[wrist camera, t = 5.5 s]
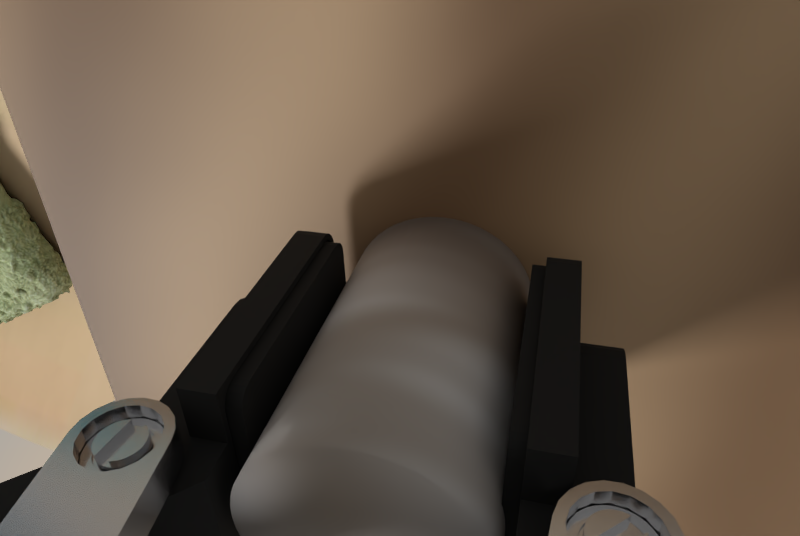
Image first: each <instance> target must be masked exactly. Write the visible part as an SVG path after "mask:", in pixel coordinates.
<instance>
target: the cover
mask: <svg viewBox="0 0 800 536" xmlns="http://www.w3.org/2000/svg"><path fill="white" fill-rule="evenodd" d="M0 89H1V91H2V94H3V97H4V100H5V102H6V105H7V108H8V110H9V113H10V116H11V118H12V121H13V124H14V127H15V129H16V132H17V135H18V137H19V140H20V143H21V146H22V148H23V151H24V154H25V156H26V159H27V162H28V164H29V167H30V170H31V173H32V175H33V178H34V181H35V183H36V186H37V189H38V191H39V194H40V197H41V200H42V202H43V205H44V208H45V210H46V213H47V216H48V219H49V221H50V224H51V227H52V229H53V232H54V235H55V237H56V240H57V243H58V246H59V248H60V251H61V254H62V256H63V259H64V262H65V265H66V267H67V270H68V273H69V275H70V278H71V281H72V283H73V286H74V289H75V292H76V294H77V297H78V300H79V302H80V305H81V308H82V311H83V313H84V316H85V319H86V321H87V324H88V327H89V329H90V332H91V335H92V338H93V340H94V343H95V346H96V348H97V351H98V354H99V356H100V359H101V362H102V365H103V367H104V370H105V373H106V375H107V378H108V381H109V384H110V386H111V389H112V392H113V394H114V397H115V400H116V401H119V400H123V399H127V398H149V399H154V400H158V401H160V399H161V398H162V397H163V395H164V394H165V393H166V392H167V390H168V389H169V388H170V386H171V385H172V384H173V383H174V381H175V380H176V379H177V378H178V376H179V375H180V374H181V372H182V371H183V370H184V369H185V367H186V366H187V365H188V363H189V362H190V361H191V360H192V358H193V357H194V356H195V354H196V353H197V352H198V351H199V349H200V348H201V347H202V346H203V344H204V343H205V342H206V340H207V339H208V338H209V337H210V335H211V334H212V333H213V331H214V330H215V329H216V328H217V326H218V325H219V324H220V323H221V321H222V320H223V319H224V317H225V316H226V315H227V314H228V312H229V311H230V310H231V308H232V307H233V306H234V305H235V304H236V303H237V302H238V301H239V300H240V299H242V298H245V297H246V296H247V295H248V293H249V292H250V291H251V289H252V288H253V287H254V286H255V284H256V283H257V282H258V280H259V279H260V278H261V276H262V275H263V274H264V273H265V271H266V270H267V269H268V267H269V266H270V265H271V264H272V262H273V261H274V260H275V258H276V257H277V256H278V254H279V253H280V252H281V251H282V249H283V248H284V247H285V245H286V244H287V243H288V241H289V240H290V239H291V238H292V236H293V235H294V234H295V233H296V232H297V231H300V230H301V231H310V232H319V233H329V234H330V235H332V238H333V241H334V242H335V243H340V244H342V247H343V253H344V264H345V276H346V285H345V286H344V288H343V290H342V292H341V294H340V295H339V297H338V299H337V301H336V302H335V304H334V306H333V308H332V310H331V311H330V313H329V315H328V317H327V318H326V320H325V322H324V324H323V326H322V327H321V329H320V331H319V333H318V334H317V336H316V338H315V340H314V342H313V343H312V345H311V347H310V349H309V350H308V352H307V354H306V356H305V358H304V359H303V361H302V363H301V365H300V366H299V368H298V370H297V372H296V374H295V375H294V377H293V379H292V381H291V382H290V384H289V386H288V388H287V390H286V391H285V393H284V395H283V397H282V398H281V400H280V402H279V404H278V406H277V407H276V409H275V411H274V413H273V414H272V416H271V418H270V420H269V422H268V423H267V425H266V427H265V429H264V430H263V432H262V434H261V436H260V438H259V439H258V441H257V443H256V445H255V446H254V448H253V450H252V452H251V454H250V455H249V457H248V459H247V461H246V462H245V464H244V466H243V468H242V470H241V471H240V473H239V475H238V477H237V479H236V481H235V483H234V485H233V487H232V491H231V495H230V508H231V514H232V518H233V521H234V524H235V527H236V529H237V531H238V533H239V535H240V536H505V516H504V511H503V507H502V494H503V484H504V475H505V465H506V456H507V447H508V439H509V431H510V423H511V416H512V409H513V402H514V394H515V387H516V380H517V373H518V365H519V358H520V351H521V344H522V336H523V329H524V322H525V315H526V307H527V300H528V293H529V286H530V279H531V271H532V265H542V266H546V261H547V257H551V258H561V259H570V260H579V261H582V286H581V341H580V343H587V344H594V345H602V346H609V347H617V348H624V350H625V354H626V364H627V378H628V391H629V405H630V419H631V433H632V447H633V460H634V474H635V488H637V489H640V490H642V491H644V492H645V493H647V494H648V495H650V496H651V497H653V498H654V499H656V500H657V501H659V502H660V503H661V504H662V505H663V506H664V507H665V508H666V509H667V510H668V511H669V512H670V513H671V514H672V515H673V516H674V517H675V519H676V521H677V522H678V524H679V526H680V528H681V530H682V532H683V533H684V535H685V536H800V0H0Z"/></svg>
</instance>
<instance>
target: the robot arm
mask: <svg viewBox="0 0 800 536" xmlns="http://www.w3.org/2000/svg"><path fill="white" fill-rule="evenodd" d="M345 285H346V276H345V264H344V253H343V247H342V244H340V243H335V242H334V241H333V238H332V235H330V234H329V233H319V232H310V231H301V230H300V231H297V232H296V233H295V234H294V235H293V236H292V238H291V239H290V240H289V241H288V243H287V244H286V245H285V247H284V248H283V249H282V251H281V252H280V253H279V254H278V256H277V257H276V258H275V260H274V261H273V262H272V264H271V265H270V266H269V267H268V269H267V270H266V271H265V273H264V274H263V275H262V276H261V278H260V279H259V280H258V282H257V283H256V284H255V286H254V287H253V288H252V289H251V291H250V292H249V293H248V295H247V296H246V297H245V298H242V299H240V300H239V301H238V302H237V303H236V304H235V305H234V306H233V307H232V308H231V310H230V311H229V312H228V314H227V315H226V316H225V317H224V319H223V320H222V321H221V323H220V324H219V325H218V326H217V328H216V329H215V330H214V331H213V333H212V334H211V335H210V337H209V338H208V339H207V340H206V342H205V343H204V344H203V346H202V347H201V348H200V349H199V351H198V352H197V353H196V354H195V356H194V357H193V358H192V360H191V361H190V362H189V363H188V365H187V366H186V367H185V369H184V370H183V371H182V372H181V374H180V375H179V376H178V378H177V379H176V380H175V381H174V383H173V384H172V385H171V386H170V388H169V389H168V390H167V392H166V393H165V394H164V395H163V397H162V398H161V399H160V401H158V400H154V399H149V398H127V399H123V400H119V401H114V402H111V403H109V404H106V405H104V406H102V407H100V408H97V409H95V410H94V411H92V412H91V413H89V414H88V415H86V416H85V417H83V418H82V419H81V420H79V422H78V423H77V424H76V425H75V426H74V427H73V428H72V429H71V430H70V431H69V432H68V433H67V435H66V436H65V437H64V439H63V440H62V441H61V443H60V444H59V445H58V447H57V448H56V449H55V451H54V452H53V454H52V455H51V456H50V458H49V459H48V460H47V462H46V463H45V464H44V466H43V467H40V468H38V469H36V470H33V471H30V472H28V473H25V474H23V475H20V476H17V477H15V478H12V479H10V480H7V481H5V482H2V483H0V536H240V535H239V533H238V531H237V529H236V527H235V524H234V521H233V518H232V514H231V508H230V495H231V491H232V487H233V485H234V483H235V481H236V479H237V477H238V475H239V473H240V471H241V470H242V468H243V466H244V464H245V462H246V461H247V459H248V457H249V455H250V454H251V452H252V450H253V448H254V446H255V445H256V443H257V441H258V439H259V438H260V436H261V434H262V432H263V430H264V429H265V427H266V425H267V423H268V422H269V420H270V418H271V416H272V414H273V413H274V411H275V409H276V407H277V406H278V404H279V402H280V400H281V398H282V397H283V395H284V393H285V391H286V390H287V388H288V386H289V384H290V382H291V381H292V379H293V377H294V375H295V374H296V372H297V370H298V368H299V366H300V365H301V363H302V361H303V359H304V358H305V356H306V354H307V352H308V350H309V349H310V347H311V345H312V343H313V342H314V340H315V338H316V336H317V334H318V333H319V331H320V329H321V327H322V326H323V324H324V322H325V320H326V318H327V317H328V315H329V313H330V311H331V310H332V308H333V306H334V304H335V302H336V301H337V299H338V297H339V295H340V294H341V292H342V290H343V288H344V286H345ZM581 286H582V261H579V260H570V259H561V258H551V257H547V261H546V266H542V265H532V271H531V279H530V286H529V293H528V300H527V307H526V315H525V322H524V329H523V336H522V344H521V351H520V358H519V365H518V373H517V380H516V387H515V394H514V402H513V409H512V416H511V423H510V431H509V439H508V447H507V456H506V465H505V475H504V484H503V494H502V507H503V511H504V516H505V536H685V535H684V533H683V532H682V530H681V528H680V526H679V524H678V522H677V521H676V519H675V517H674V516H673V515H672V514H671V513H670V512H669V511H668V510H667V509H666V508H665V507H664V506H663V505H662V504H661V503H660V502H659V501H657V500H656V499H654V498H653V497H651V496H650V495H648V494H647V493H645V492H644V491H642V490H640V489H637V488H635V474H634V460H633V447H632V433H631V419H630V405H629V391H628V378H627V364H626V354H625V350H624V348H617V347H609V346H602V345H594V344H587V343H580V341H581Z"/></svg>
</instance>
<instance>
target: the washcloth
mask: <svg viewBox="0 0 800 536" xmlns="http://www.w3.org/2000/svg"><path fill="white" fill-rule="evenodd" d="M71 286H72V281H71V278H70V275H69V273H68V270H67V267H66V265H65V263H63V261H62V258H61V256H60V255H59V253H58V252H56V251H54V250H53V247H52V246H51V245H50V244H49V242H48V241H47V240H46V239H45V238H44V237H43V236H42V235H41V233H40V231H39V228H38V227H37V225H36V223H35V222H31V221H30V215H29V214H28V213H27V211H26V210H25V208H24V206H23V202H20V201H18V200H17V199H13V198H11V197H10V196H9V195H8V194H7V193H6V191H5V189H4V187H3V186H2V185H1V183H0V324H1V323H2V322H3V321H4V322H5V323H7V322H8V321H11V320H13V319H14V318H15V317H16V316H21V315H22V314H23V313H24V314H25V313H27V312H30V311H32V310H33V309H34V308H37V307H38V308H41V306H42V305H44V304H46V303H50V302H52V301H54V300H55V299H58V298H59V295H60V294H63V293H64V292H68V293H70V291H69V288H70V287H71Z"/></svg>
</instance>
